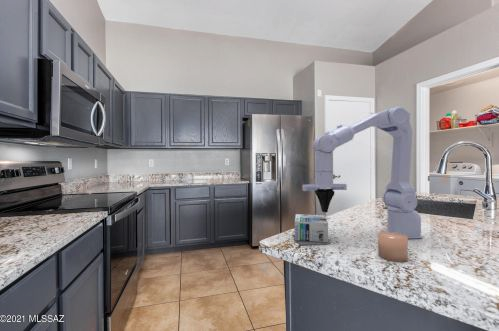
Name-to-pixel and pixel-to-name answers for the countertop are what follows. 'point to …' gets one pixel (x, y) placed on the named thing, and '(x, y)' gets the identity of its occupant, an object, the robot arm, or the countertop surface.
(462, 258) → the countertop surface
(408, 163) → the robot arm
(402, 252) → the tan rounded cylinder
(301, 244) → the flat gray square
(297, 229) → the light bulb box
